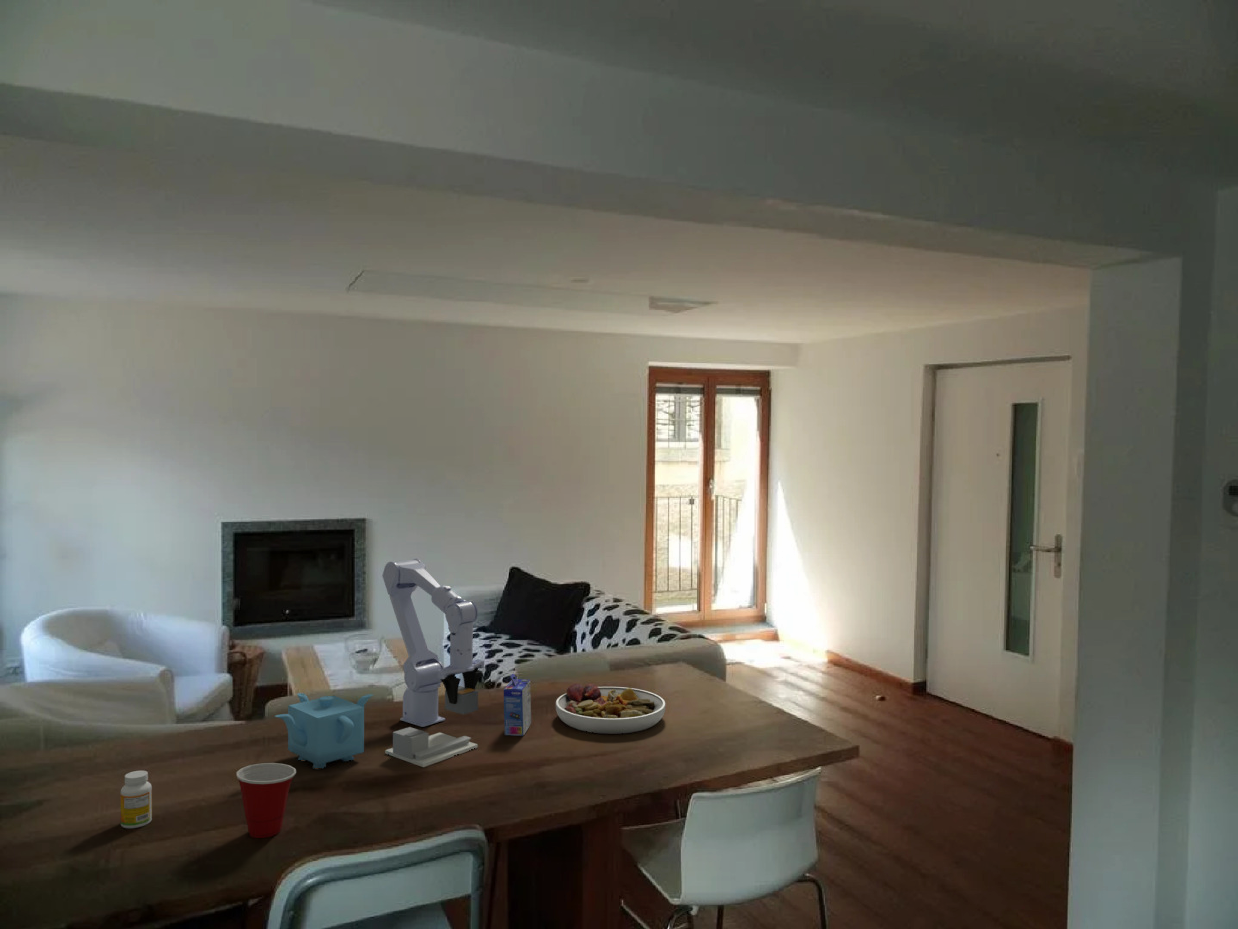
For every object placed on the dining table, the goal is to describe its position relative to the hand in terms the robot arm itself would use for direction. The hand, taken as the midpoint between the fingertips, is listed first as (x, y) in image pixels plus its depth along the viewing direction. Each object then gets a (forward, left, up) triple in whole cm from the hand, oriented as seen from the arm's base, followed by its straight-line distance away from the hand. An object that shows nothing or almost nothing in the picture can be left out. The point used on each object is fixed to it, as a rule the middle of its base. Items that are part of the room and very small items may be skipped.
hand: (461, 700), depth 229 cm
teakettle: (-12, -33, -9) cm, 36 cm away
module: (0, 0, -2) cm, 2 cm away
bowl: (+22, +34, -9) cm, 42 cm away
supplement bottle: (-9, -77, -9) cm, 78 cm away
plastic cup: (+14, -63, -9) cm, 65 cm away
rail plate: (+4, -13, -8) cm, 16 cm away
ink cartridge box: (+9, +11, -9) cm, 17 cm away
